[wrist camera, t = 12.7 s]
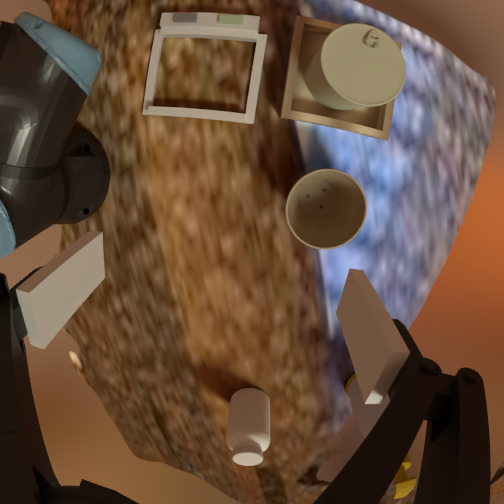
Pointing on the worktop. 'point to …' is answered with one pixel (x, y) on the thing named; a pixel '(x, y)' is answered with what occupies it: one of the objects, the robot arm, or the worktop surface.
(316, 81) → the can
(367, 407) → the soap bottle
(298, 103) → the open box
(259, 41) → the white square frame
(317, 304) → the worktop surface
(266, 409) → the pill bottle
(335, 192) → the flower pot
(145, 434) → the worktop surface
